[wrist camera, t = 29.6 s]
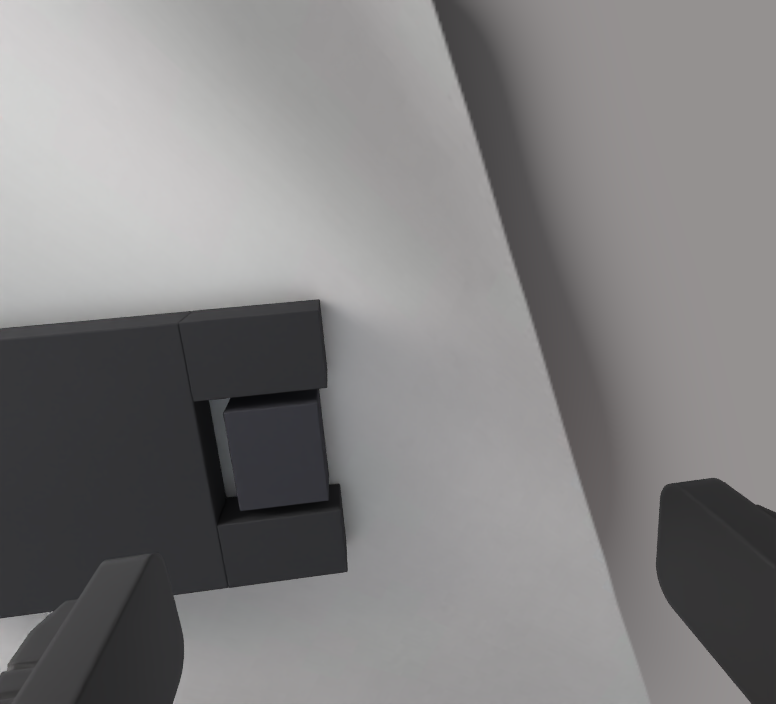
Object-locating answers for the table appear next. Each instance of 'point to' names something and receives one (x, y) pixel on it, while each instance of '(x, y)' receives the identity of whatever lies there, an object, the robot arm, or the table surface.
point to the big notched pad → (149, 452)
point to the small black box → (277, 449)
